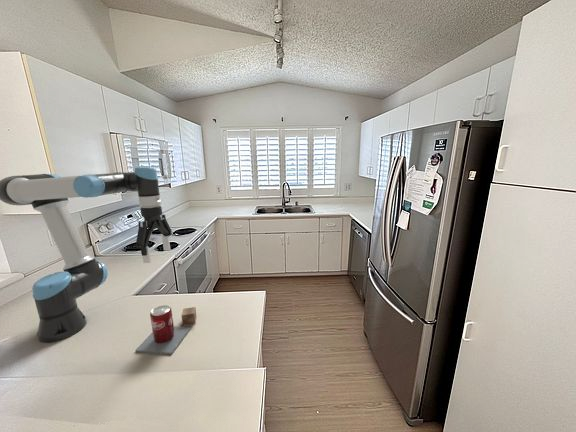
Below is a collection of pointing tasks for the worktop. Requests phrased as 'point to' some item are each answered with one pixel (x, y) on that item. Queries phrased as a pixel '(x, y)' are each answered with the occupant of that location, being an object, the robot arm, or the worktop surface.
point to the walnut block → (189, 316)
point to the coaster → (167, 347)
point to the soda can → (162, 324)
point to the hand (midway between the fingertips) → (157, 256)
